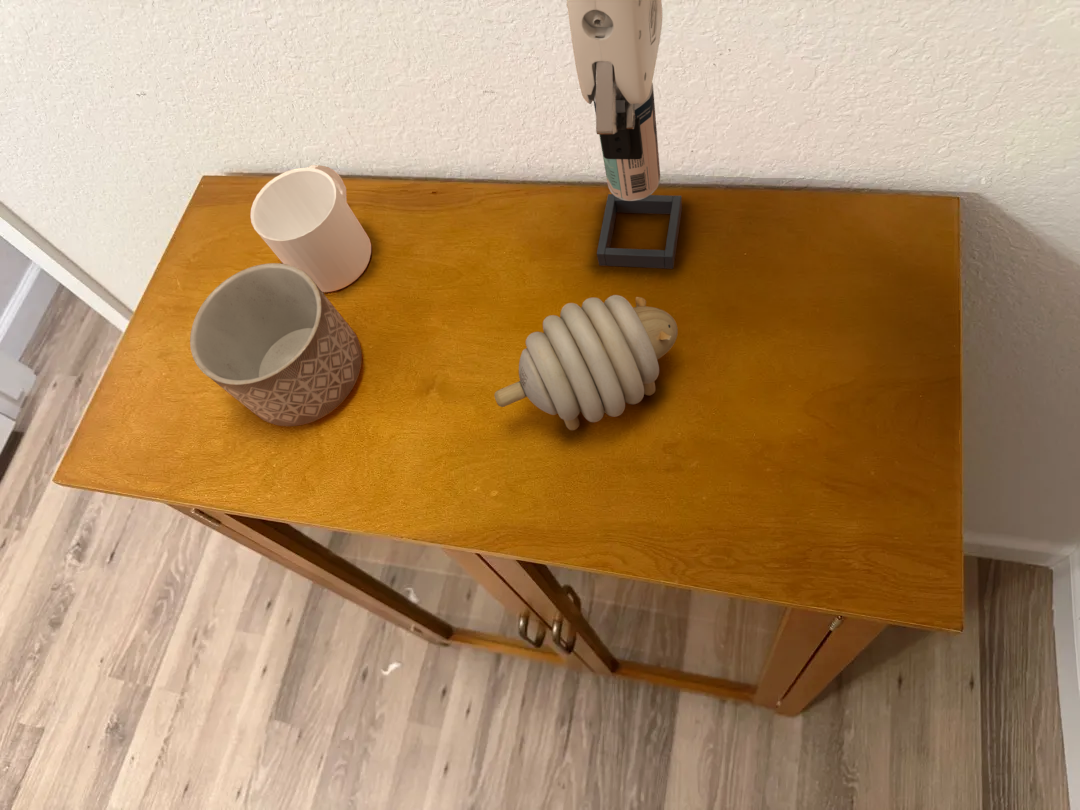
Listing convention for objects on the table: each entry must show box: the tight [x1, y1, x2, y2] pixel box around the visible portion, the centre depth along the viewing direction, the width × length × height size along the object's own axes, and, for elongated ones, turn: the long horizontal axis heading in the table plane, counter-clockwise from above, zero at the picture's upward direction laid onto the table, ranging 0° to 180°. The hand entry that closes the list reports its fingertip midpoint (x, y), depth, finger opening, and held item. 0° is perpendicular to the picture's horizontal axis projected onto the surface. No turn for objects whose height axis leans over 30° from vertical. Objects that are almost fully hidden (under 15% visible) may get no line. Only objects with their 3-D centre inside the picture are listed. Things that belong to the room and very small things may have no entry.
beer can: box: [593, 82, 661, 201], centre depth 65 cm, size 5×5×12 cm
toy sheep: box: [494, 294, 679, 431], centre depth 66 cm, size 11×17×11 cm, turn 116°
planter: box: [189, 262, 363, 427], centre depth 74 cm, size 13×13×10 cm
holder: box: [596, 193, 683, 270], centre depth 77 cm, size 7×7×2 cm
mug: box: [249, 164, 372, 293], centre depth 81 cm, size 12×9×9 cm
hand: (628, 129), depth 65 cm, fingers closed on beer can, 4 cm apart
